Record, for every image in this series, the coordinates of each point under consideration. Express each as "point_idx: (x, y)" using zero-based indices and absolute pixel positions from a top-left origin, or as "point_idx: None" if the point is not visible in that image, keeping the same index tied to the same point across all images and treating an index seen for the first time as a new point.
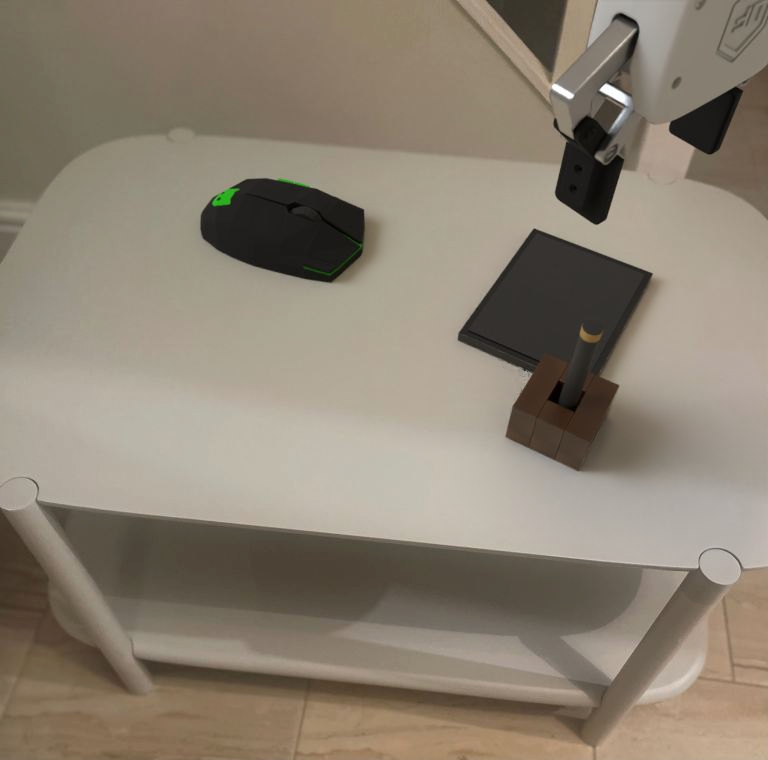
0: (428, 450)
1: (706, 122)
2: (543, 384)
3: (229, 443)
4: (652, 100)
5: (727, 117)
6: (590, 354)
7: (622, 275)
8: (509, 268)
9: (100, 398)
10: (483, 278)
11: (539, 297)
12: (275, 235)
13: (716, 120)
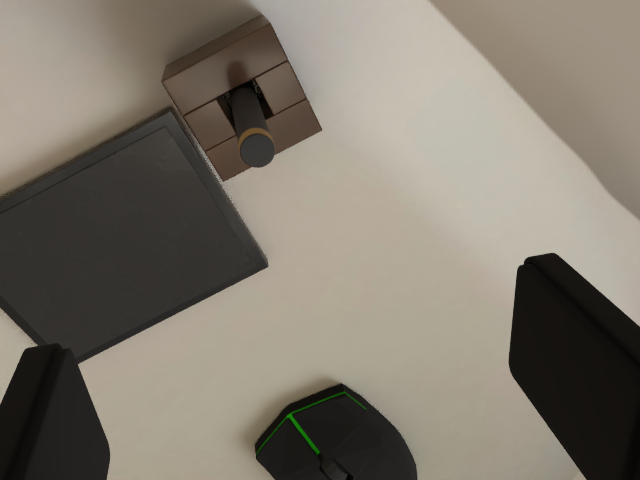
0: (398, 142)
1: (62, 445)
2: None
3: (548, 248)
4: None
5: (21, 441)
6: (258, 119)
7: None
8: (141, 326)
9: None
10: (175, 326)
11: (134, 270)
12: (381, 454)
13: (49, 442)
